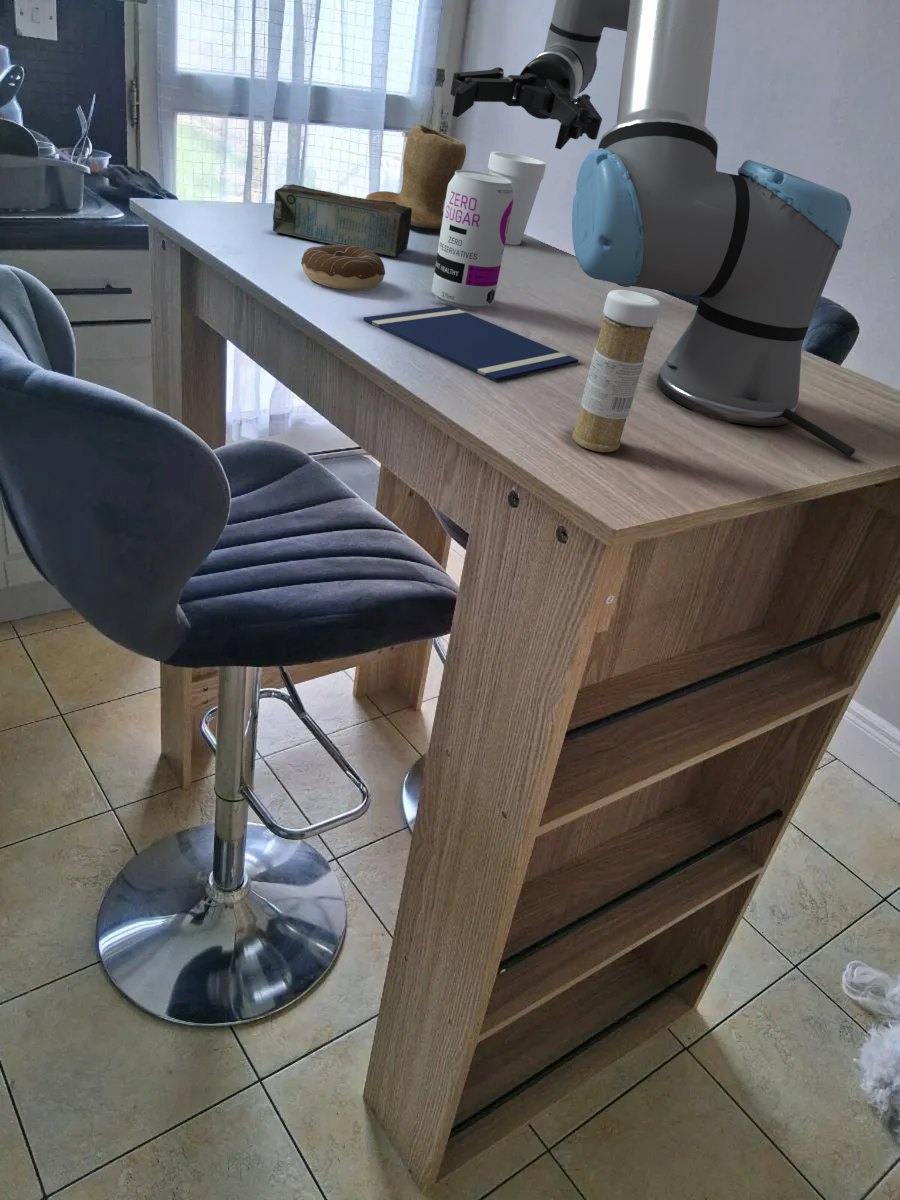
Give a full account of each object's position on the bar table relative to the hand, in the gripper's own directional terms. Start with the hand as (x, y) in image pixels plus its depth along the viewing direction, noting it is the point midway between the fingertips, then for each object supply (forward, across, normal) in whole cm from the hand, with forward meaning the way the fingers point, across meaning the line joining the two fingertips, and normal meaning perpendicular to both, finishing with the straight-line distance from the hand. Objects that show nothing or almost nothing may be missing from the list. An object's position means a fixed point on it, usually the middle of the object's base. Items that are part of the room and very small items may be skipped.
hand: (508, 120), depth 110 cm
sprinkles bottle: (+46, -24, -11) cm, 53 cm away
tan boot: (-31, +20, -29) cm, 47 cm away
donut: (+15, +14, -20) cm, 28 cm away
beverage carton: (-5, +22, -24) cm, 33 cm away
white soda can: (+10, -1, -20) cm, 22 cm away
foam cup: (-35, +4, -29) cm, 46 cm away
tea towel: (+26, -7, -16) cm, 31 cm away
